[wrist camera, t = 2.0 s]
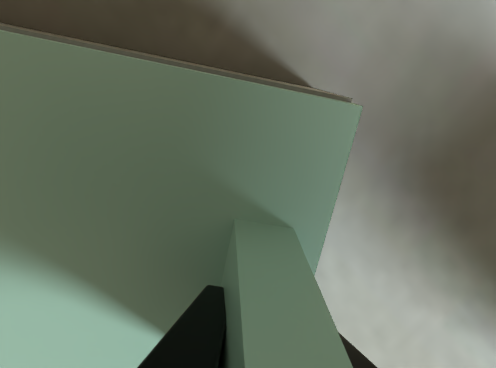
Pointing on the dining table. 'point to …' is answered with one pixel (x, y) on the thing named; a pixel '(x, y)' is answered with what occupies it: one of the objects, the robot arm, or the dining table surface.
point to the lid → (161, 209)
